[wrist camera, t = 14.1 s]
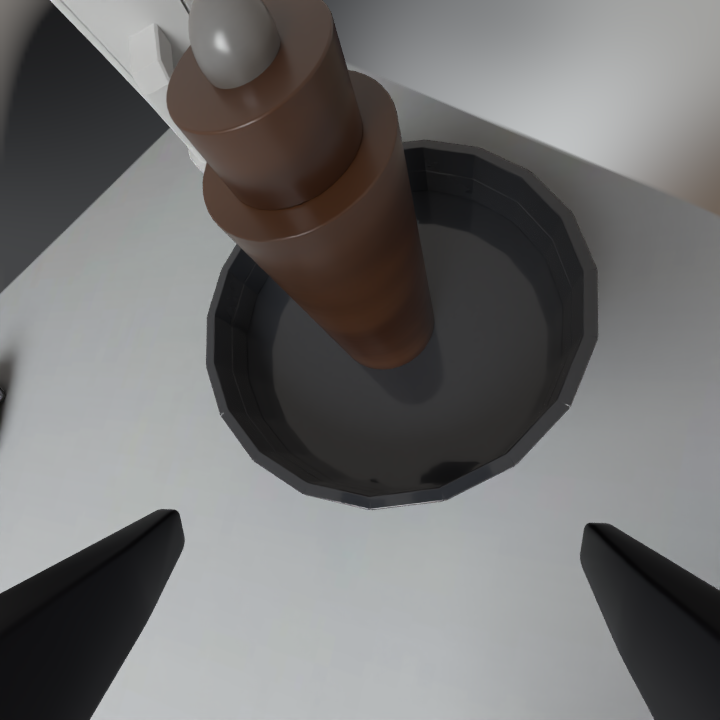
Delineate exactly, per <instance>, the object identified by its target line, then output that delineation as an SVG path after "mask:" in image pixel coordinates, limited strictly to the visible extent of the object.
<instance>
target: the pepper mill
mask: <svg viewBox="0 0 720 720" xmlns="http://www.w3.org/2000/svg"><path fill="white" fill-rule="evenodd" d="M188 32H189V39H190V44H191V45H190V46H189V48H188V49H187V50H186V51H185V53H184V54H183V56H182V57H181V59H180V60H179V62H178V64H177V65H176V67H175V69H174V71H173V73H172V76H171V78H170V81H169V84H168V88H167V94H166V103H167V109H168V112H169V115H170V117H171V119H172V120H173V122H174V123H175V124H176V126H177V127H178V128H179V129H180V130H181V132H182V133H183V134H184V135H185V136H186V138H187V139H188V140H189V141H190V142H191V144H192V145H193V146H194V147H195V148H196V150H197V151H198V152H199V153H200V154H201V156H202V157H203V158H204V159H205V160H206V162H207V163H206V167H205V171H204V176H203V195H204V201H205V204H206V207H207V209H208V212H209V214H210V215H211V217H212V219H213V220H214V221H215V222H216V223H217V225H218V226H219V227H220V228H221V229H222V230H223V231H224V232H225V233H226V234H227V235H228V236H229V237H230V238H231V239H232V240H233V241H234V242H235V243H236V244H237V245H238V246H239V247H240V248H241V249H242V250H243V251H244V252H245V253H246V254H247V255H248V256H250V257H251V258H252V259H253V260H254V261H255V262H256V263H257V264H258V265H259V266H260V267H261V268H262V269H263V270H264V271H265V272H266V273H267V274H268V275H269V276H270V277H271V278H272V279H273V280H274V281H275V282H276V283H277V284H278V285H279V286H280V287H281V288H282V289H283V290H284V291H285V292H286V293H287V294H288V295H289V296H290V297H291V298H292V299H293V300H294V301H295V302H296V303H297V304H298V305H299V306H300V307H301V308H302V309H303V310H304V311H305V312H306V313H307V314H308V315H309V316H310V317H311V318H312V319H313V320H314V321H315V322H316V323H317V324H318V325H319V326H320V327H321V328H322V329H323V330H324V331H325V332H326V333H327V334H328V335H329V336H330V337H331V338H332V339H333V340H334V341H335V342H336V343H338V344H339V345H340V346H341V347H342V348H343V349H344V350H345V351H346V352H347V353H348V354H349V355H350V356H351V357H352V358H353V359H354V360H355V361H356V362H358V363H360V364H361V365H364V366H366V367H369V368H373V369H393V368H396V367H400V366H402V365H405V364H407V363H408V362H410V361H412V360H413V359H414V358H416V357H417V356H418V355H419V354H420V353H421V352H422V351H423V350H424V348H425V347H426V345H427V344H428V342H429V340H430V338H431V336H432V332H433V328H434V314H433V308H432V302H431V297H430V291H429V286H428V280H427V275H426V269H425V264H424V258H423V253H422V247H421V242H420V237H419V231H418V226H417V220H416V215H415V209H414V204H413V198H412V193H411V187H410V182H409V176H408V171H407V165H406V160H405V154H404V149H403V143H402V138H401V132H400V127H399V121H398V116H397V111H396V108H395V105H394V102H393V100H392V99H391V97H390V95H389V93H388V92H387V91H386V90H385V89H384V88H383V86H382V85H381V84H379V83H378V82H377V81H375V80H374V79H372V78H371V77H369V76H367V75H365V74H362V73H359V72H356V71H350V70H348V69H347V66H346V62H345V59H344V55H343V52H342V48H341V45H340V41H339V38H338V35H337V31H336V28H335V24H334V20H333V17H332V13H331V12H330V10H329V8H328V6H327V5H326V4H325V3H324V1H323V0H194V1H193V3H192V6H191V9H190V13H189V20H188Z"/></svg>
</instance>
